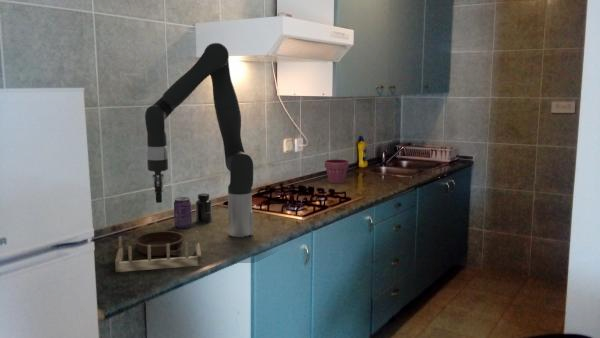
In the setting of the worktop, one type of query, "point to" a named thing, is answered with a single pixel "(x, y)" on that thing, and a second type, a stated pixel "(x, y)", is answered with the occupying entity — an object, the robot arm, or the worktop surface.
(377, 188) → the worktop surface
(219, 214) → the worktop surface
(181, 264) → the rack
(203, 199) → the supplement bottle
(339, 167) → the plant pot
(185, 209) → the beverage can
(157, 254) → the dish
